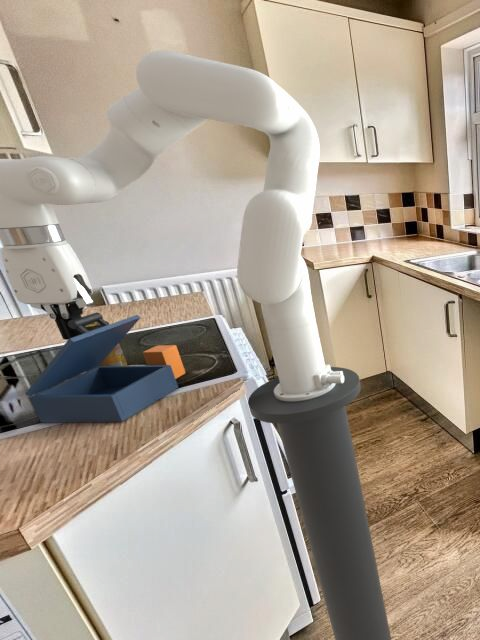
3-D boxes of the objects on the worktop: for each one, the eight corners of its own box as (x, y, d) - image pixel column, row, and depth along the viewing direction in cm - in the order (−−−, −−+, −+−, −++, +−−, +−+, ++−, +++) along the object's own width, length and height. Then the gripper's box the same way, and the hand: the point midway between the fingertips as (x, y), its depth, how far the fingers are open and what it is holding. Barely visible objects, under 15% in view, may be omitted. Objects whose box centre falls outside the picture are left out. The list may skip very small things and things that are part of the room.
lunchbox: (178, 387, 90) (170, 364, 88) (122, 421, 77) (111, 396, 75) (108, 388, 91) (98, 366, 89) (40, 422, 78) (28, 397, 76)
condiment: (112, 366, 102) (93, 319, 98) (145, 365, 102) (127, 318, 97) (82, 379, 95) (60, 329, 91) (118, 379, 95) (97, 329, 90)
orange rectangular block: (185, 373, 97) (176, 345, 94) (172, 381, 93) (161, 351, 91) (167, 373, 97) (157, 345, 94) (153, 381, 93) (142, 352, 91)
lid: (140, 317, 84) (120, 300, 83) (73, 342, 72) (47, 322, 70) (99, 365, 89) (79, 350, 87) (29, 396, 76) (4, 379, 75)
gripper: (-36, 241, 69) (15, 345, 76) (51, 239, 68) (95, 343, 75) (16, 235, 76) (58, 331, 83) (95, 233, 75) (132, 329, 82)
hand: (76, 336), depth 79 cm, fingers closed
